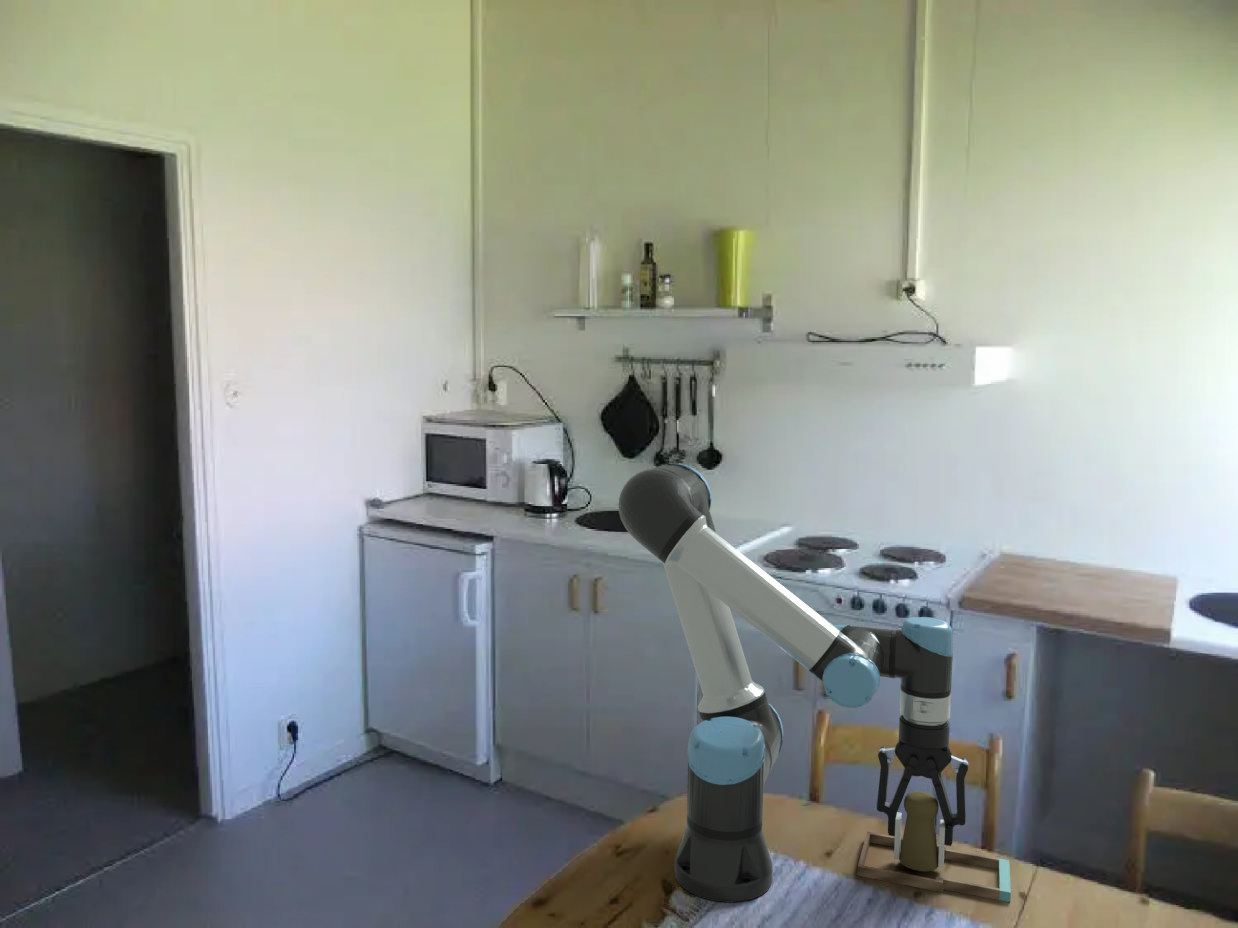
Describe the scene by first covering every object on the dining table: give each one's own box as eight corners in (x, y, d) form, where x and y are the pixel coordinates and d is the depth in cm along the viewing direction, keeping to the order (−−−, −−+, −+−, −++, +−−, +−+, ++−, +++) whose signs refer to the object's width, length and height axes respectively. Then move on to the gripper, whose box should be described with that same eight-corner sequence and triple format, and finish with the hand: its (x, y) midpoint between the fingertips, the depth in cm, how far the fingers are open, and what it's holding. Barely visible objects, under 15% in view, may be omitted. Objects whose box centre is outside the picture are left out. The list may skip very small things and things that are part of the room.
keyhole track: (857, 875, 147) (857, 866, 147) (866, 840, 159) (867, 831, 158) (1010, 905, 139) (1010, 896, 139) (1008, 866, 151) (1009, 857, 150)
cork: (941, 873, 146) (944, 805, 145) (900, 869, 147) (903, 801, 146) (936, 854, 152) (939, 788, 151) (897, 850, 153) (899, 784, 152)
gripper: (859, 717, 147) (854, 858, 150) (989, 734, 141) (982, 882, 143) (865, 702, 154) (860, 837, 157) (989, 717, 148) (983, 859, 150)
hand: (918, 858), depth 150 cm, fingers closed on cork, 6 cm apart
